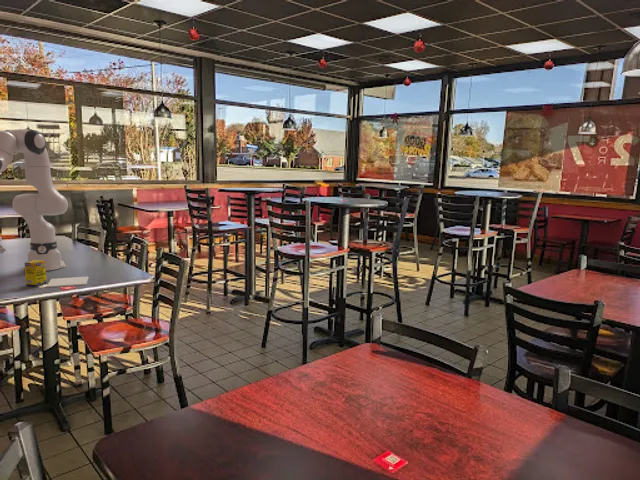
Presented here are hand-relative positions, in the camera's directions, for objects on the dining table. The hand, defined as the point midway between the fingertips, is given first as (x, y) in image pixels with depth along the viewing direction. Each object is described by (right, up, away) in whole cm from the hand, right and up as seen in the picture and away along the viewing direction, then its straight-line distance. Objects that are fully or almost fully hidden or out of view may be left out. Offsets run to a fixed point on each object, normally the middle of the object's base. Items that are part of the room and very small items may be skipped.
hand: (4, 251), depth 209 cm
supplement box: (+10, -15, +7) cm, 20 cm away
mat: (+22, -15, +12) cm, 29 cm away
